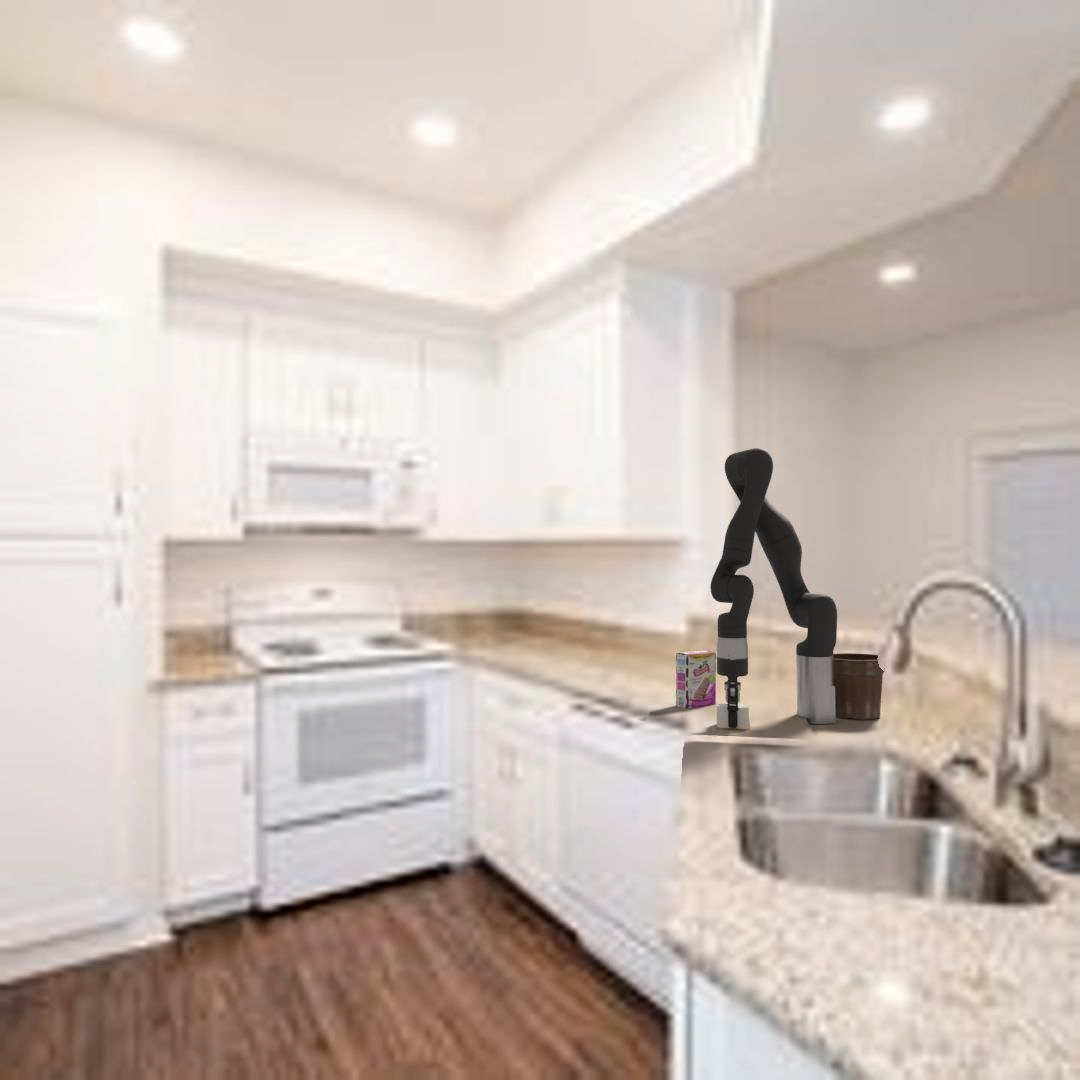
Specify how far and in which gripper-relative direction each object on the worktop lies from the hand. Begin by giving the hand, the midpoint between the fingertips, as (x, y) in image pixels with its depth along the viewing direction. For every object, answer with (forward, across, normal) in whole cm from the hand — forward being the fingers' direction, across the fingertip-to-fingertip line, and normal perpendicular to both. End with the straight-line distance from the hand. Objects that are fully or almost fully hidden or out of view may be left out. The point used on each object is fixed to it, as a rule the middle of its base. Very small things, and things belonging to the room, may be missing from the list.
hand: (732, 724), depth 198 cm
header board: (+2, -6, 0) cm, 6 cm away
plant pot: (+2, -27, +32) cm, 42 cm away
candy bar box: (+2, -27, -10) cm, 29 cm away
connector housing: (0, 0, 0) cm, 0 cm away
